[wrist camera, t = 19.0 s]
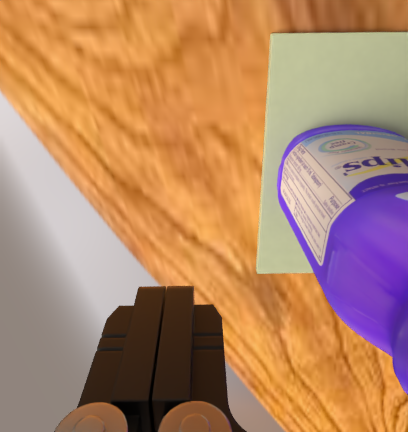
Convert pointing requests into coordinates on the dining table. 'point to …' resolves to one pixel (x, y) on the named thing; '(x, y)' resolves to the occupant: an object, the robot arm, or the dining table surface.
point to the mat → (323, 112)
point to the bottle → (354, 226)
